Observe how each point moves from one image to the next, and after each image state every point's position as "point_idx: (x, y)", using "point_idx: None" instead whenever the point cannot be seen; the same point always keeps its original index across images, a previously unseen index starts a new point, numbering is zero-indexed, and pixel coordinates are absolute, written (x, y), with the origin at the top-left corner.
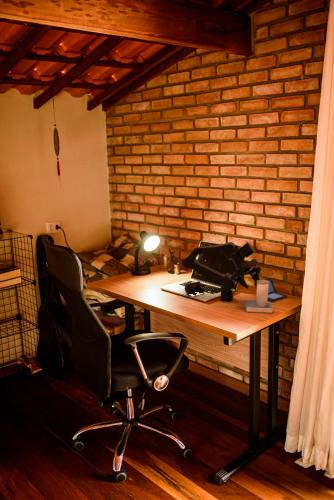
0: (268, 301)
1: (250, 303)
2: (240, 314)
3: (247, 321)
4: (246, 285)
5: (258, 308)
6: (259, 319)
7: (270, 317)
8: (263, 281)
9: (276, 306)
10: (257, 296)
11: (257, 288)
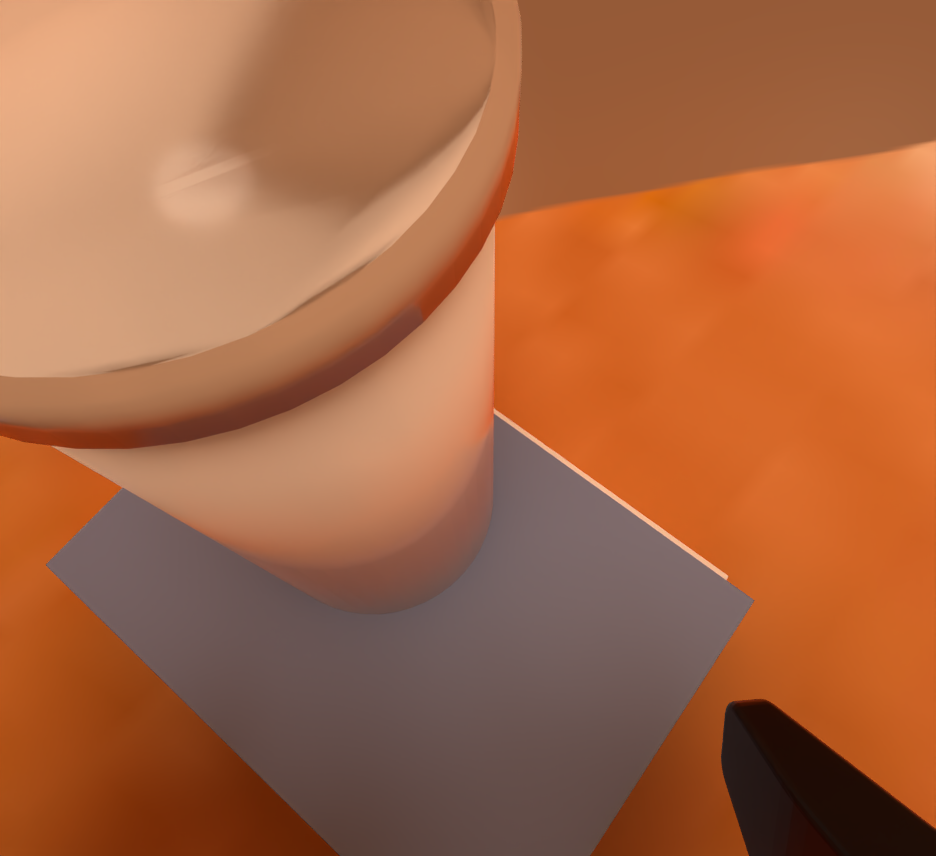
0: (82, 583)
1: (521, 696)
2: (870, 558)
3: (922, 276)
4: (891, 795)
5: (527, 437)
6: (702, 252)
7: (501, 235)
8: (145, 7)
9: (8, 535)
10: (491, 442)
11: (487, 352)
